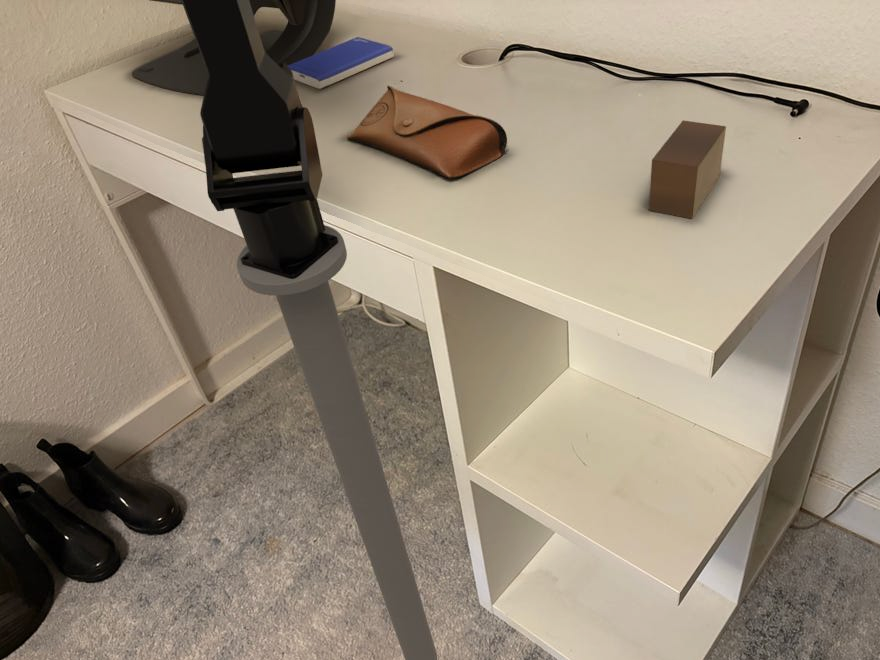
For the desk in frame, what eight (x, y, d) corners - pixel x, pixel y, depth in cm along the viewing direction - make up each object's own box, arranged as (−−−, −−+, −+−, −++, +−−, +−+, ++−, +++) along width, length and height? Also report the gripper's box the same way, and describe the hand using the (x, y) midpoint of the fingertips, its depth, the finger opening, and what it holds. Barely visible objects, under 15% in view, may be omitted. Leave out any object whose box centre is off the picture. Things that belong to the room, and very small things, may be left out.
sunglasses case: (339, 136, 83) (351, 75, 81) (385, 145, 88) (398, 87, 86) (453, 180, 73) (470, 111, 71) (497, 187, 78) (514, 123, 76)
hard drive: (355, 35, 105) (283, 65, 99) (392, 46, 100) (318, 78, 94) (358, 47, 106) (286, 77, 100) (394, 57, 101) (321, 90, 95)
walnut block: (692, 219, 65) (697, 166, 61) (648, 210, 66) (651, 159, 63) (719, 176, 70) (726, 125, 66) (678, 169, 71) (682, 119, 68)
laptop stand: (354, 40, 108) (329, -80, 97) (233, 105, 94) (189, -27, 84) (235, 23, 120) (202, -86, 109) (113, 78, 106) (61, -41, 96)
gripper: (384, -173, 69) (411, 4, 79) (240, -167, 77) (281, -6, 87) (308, -149, 62) (348, 41, 73) (158, -145, 70) (214, 26, 81)
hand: (297, 23), depth 78 cm, fingers closed
